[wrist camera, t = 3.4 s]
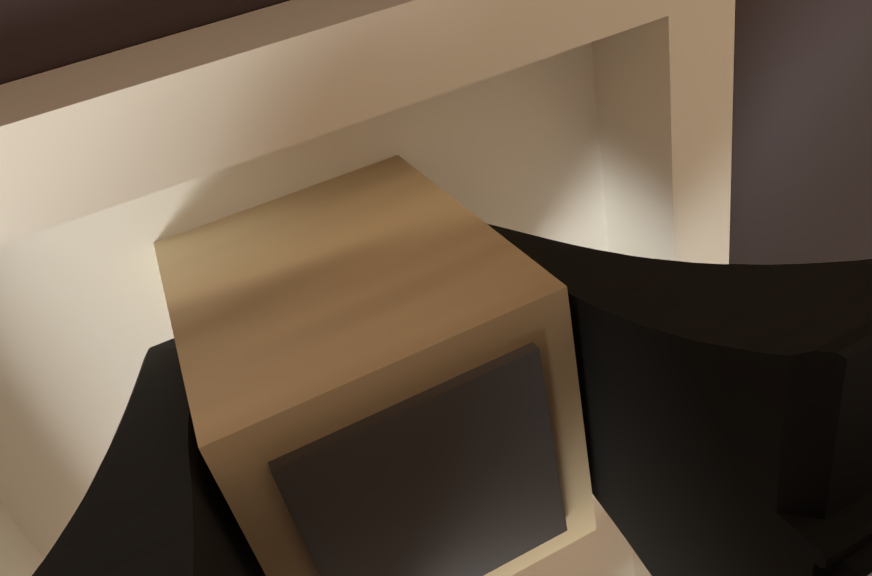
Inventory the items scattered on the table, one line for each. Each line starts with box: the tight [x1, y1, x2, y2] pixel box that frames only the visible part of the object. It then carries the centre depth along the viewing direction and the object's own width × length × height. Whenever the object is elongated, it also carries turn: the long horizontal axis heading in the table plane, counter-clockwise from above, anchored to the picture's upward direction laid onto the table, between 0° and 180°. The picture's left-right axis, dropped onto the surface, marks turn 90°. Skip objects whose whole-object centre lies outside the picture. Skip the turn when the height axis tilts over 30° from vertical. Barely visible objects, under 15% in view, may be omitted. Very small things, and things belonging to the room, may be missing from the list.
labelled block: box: [153, 155, 596, 576], centre depth 10 cm, size 4×4×5 cm
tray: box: [0, 0, 735, 576], centre depth 15 cm, size 21×14×2 cm, turn 12°
